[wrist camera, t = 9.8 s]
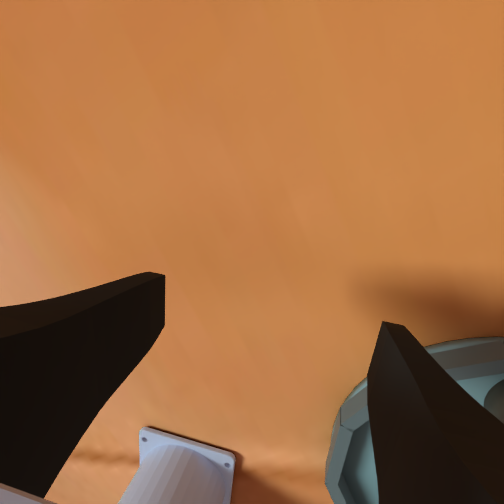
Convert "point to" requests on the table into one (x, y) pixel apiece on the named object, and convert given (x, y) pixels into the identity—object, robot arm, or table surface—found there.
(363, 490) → the round groove tray
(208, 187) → the table surface
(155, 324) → the robot arm
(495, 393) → the brown ball-rimmed cylinder
